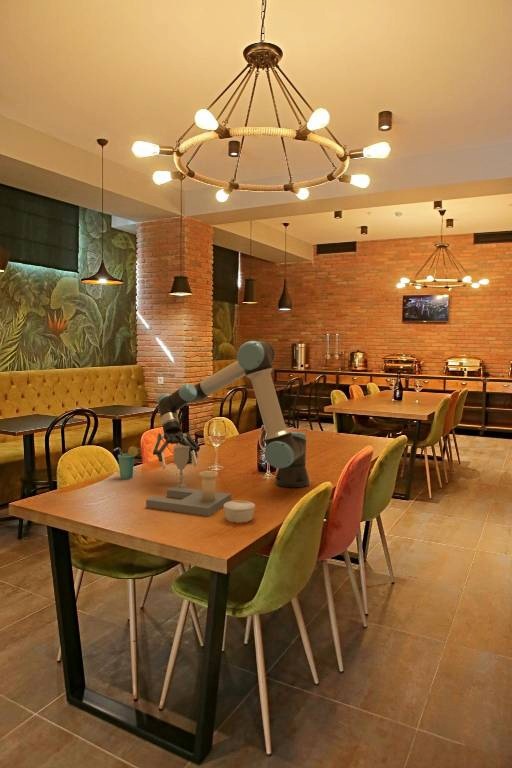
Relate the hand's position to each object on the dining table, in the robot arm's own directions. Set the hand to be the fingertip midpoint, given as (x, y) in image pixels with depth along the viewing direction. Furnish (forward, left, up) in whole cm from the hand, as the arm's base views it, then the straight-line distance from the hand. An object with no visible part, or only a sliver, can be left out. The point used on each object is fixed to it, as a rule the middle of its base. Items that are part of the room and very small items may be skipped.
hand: (180, 466), depth 230 cm
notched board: (-13, +17, -10) cm, 23 cm away
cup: (+32, -6, -10) cm, 34 cm away
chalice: (0, 0, -10) cm, 10 cm away
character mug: (+22, -45, -10) cm, 51 cm away
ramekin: (-37, +25, -10) cm, 46 cm away
